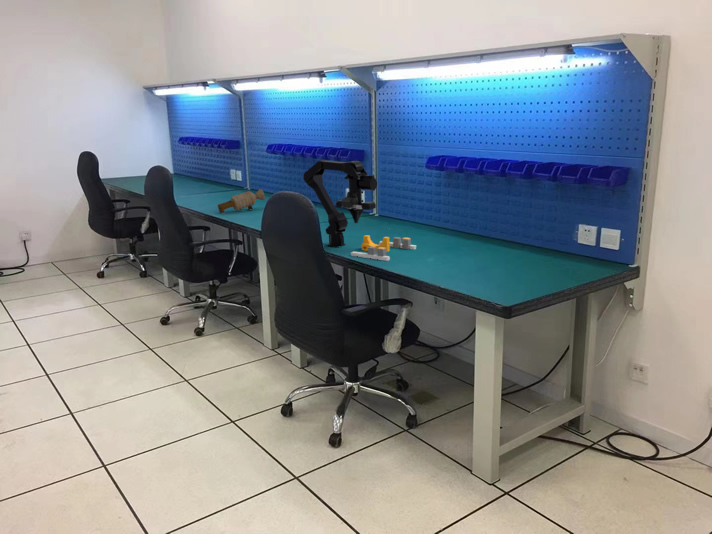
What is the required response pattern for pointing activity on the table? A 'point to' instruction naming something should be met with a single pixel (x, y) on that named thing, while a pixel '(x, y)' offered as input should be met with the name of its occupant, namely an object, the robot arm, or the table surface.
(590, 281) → the table surface
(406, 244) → the collar track
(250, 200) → the brown toy figure
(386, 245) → the pipe clamp
